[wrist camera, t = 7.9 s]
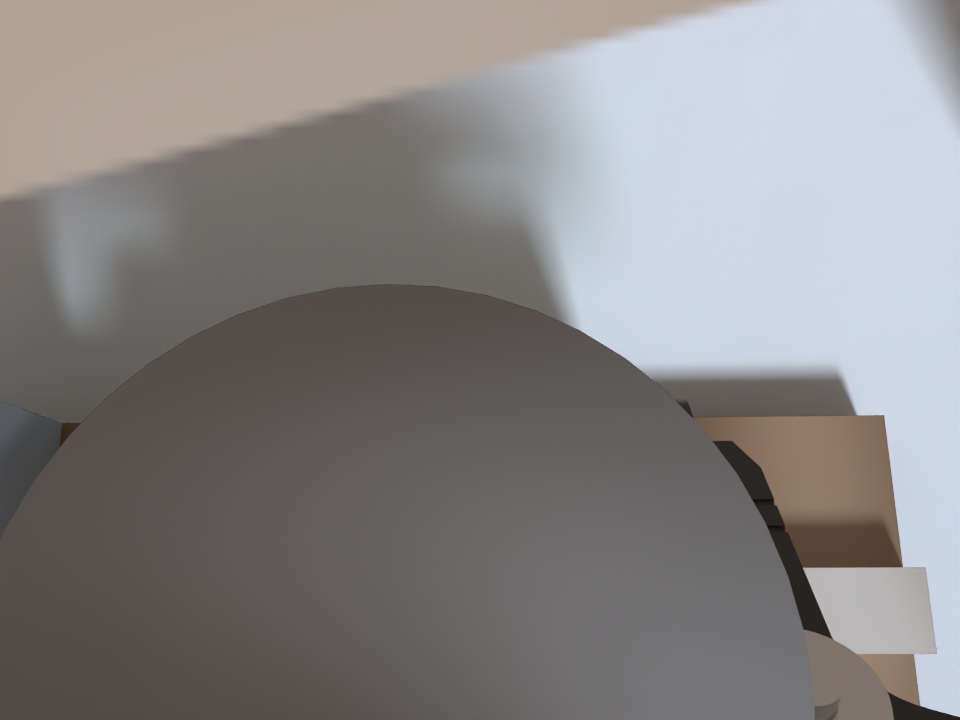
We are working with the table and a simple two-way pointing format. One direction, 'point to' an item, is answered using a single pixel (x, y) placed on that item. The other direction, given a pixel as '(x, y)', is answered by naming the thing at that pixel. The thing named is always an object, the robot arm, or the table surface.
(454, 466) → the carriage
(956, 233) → the table surface
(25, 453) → the end cabinet
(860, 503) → the track
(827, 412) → the table surface
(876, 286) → the table surface
